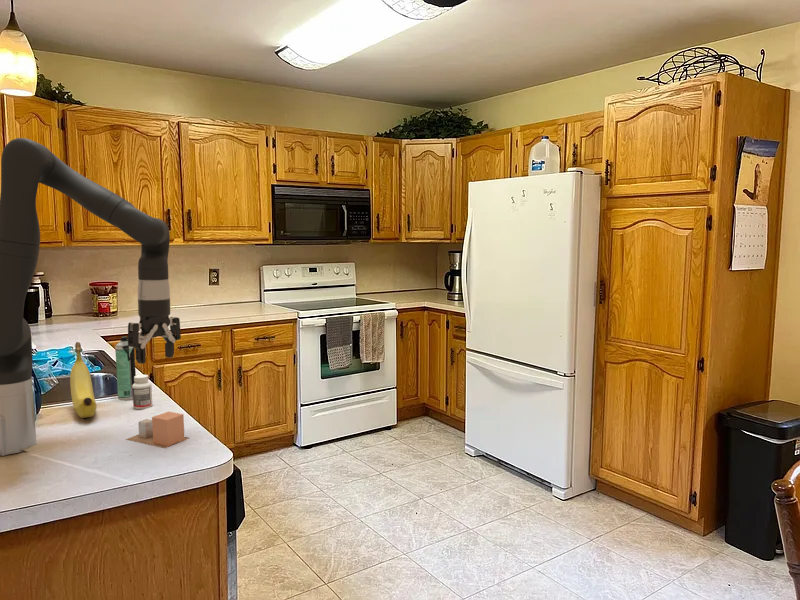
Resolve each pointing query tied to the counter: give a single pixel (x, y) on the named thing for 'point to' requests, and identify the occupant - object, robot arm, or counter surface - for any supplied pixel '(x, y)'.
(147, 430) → the stub post
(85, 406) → the banana
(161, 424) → the salmon pink cube
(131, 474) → the counter surface
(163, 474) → the counter surface
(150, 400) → the pill bottle
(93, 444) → the counter surface
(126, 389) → the spray can
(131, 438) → the walnut board
